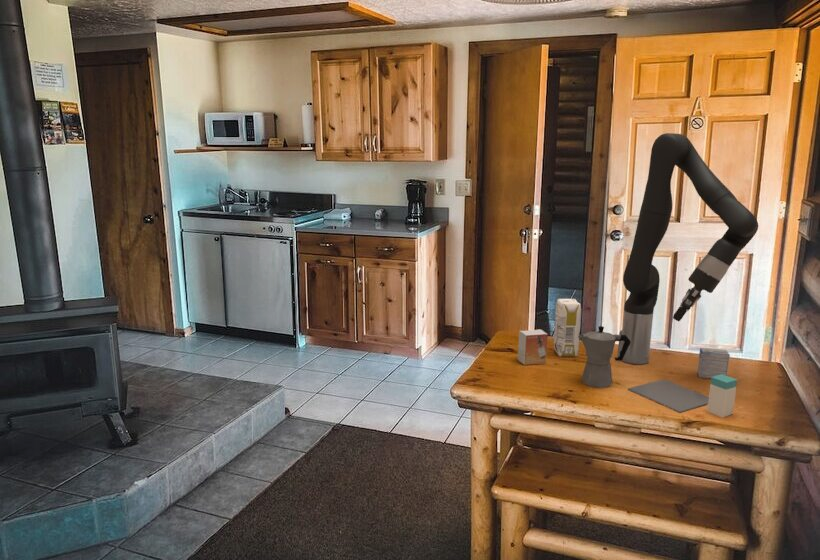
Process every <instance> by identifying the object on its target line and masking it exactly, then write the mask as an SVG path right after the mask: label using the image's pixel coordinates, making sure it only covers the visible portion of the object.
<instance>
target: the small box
mask: <svg viewBox="0 0 820 560" xmlns="http://www.w3.org/2000/svg"><path fill="white" fill-rule="evenodd" d="M518 332H519V333H518V349H517V350H518V352H517V361H519V362H520V363H521V364H522V365H523V366H529V365H545V364H546V363H547V350H548V349H547V348H548V335H549V333H547V332H545V331H544V330H543V329H540V328H539V329H531V330H529V329H528V330H519V331H518Z"/></svg>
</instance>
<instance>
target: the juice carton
mask: <svg viewBox="0 0 820 560" xmlns="http://www.w3.org/2000/svg"><path fill="white" fill-rule="evenodd" d="M554 315H555V316H554V330H553V331H554V333H553V348H554V351H555V352H556V354H557V355H558V356H559V357H562V358H563V357H566V358H567V357H568V358H569V357H572V358H574V357H575V358H576V357H578V354H579V353H578V352H579V349H580V348H579V347H580V338H578V336H579V335H581V322H582V321H581V320H582V303H580V302H578V301H577V299H576V298H557V301H556V305H555V314H554Z"/></svg>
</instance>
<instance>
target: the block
mask: <svg viewBox="0 0 820 560" xmlns="http://www.w3.org/2000/svg"><path fill="white" fill-rule="evenodd" d="M737 386H738V379H736V378H733V377H731V376H728V375H727V376H725V375H723V374H721V375H717V376H714V377H711V378H710V386H709V391H708V392H709V393H708V397H709V400H708V404H707V409H706V411H707V412H708V413H711V414H713V415H715V416H717V417H720V418H725V417H728V416H731V414H732V415H733V413H734V406H735V399H736V394H737V393H736V391H737Z"/></svg>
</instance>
